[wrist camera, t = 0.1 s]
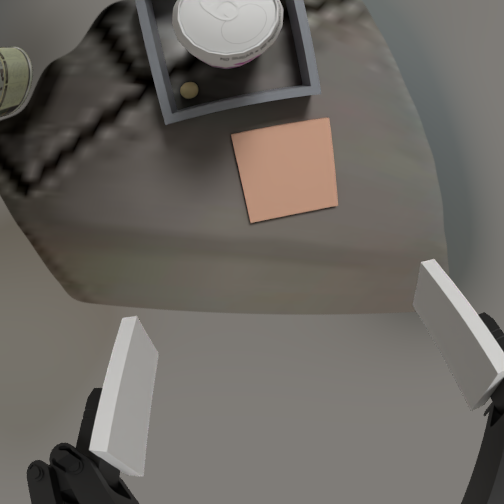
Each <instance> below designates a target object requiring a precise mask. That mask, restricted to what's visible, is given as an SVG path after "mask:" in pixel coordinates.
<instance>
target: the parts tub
mask: <svg viewBox="0 0 504 504" xmlns="http://www.w3.org/2000/svg"><path fill="white" fill-rule="evenodd" d="M135 2H136V7H137V12H138V16H139V21H140V25H141V30H142V34H143V38H144V43H145V47H146V51H147V55H148V60H149V64H150V68H151V72H152V76H153V80H154V84H155V88H156V92H157V95H158V99H159V103H160V107H161V111H162V114H163V118H164V122H165V125H167V124H171V123H175V122H178V121H182V120H186V119H189V118H193V117H197V116H201V115H205V114H209V113H214V112H218V111H222V110H227V109H232V108H236V107H241V106H246V105H251V104H257V103H262V102H268V101H274V100H280V99H286V98H293V97H300V96H308V95H316V94H321V88H320V82H319V76H318V70H317V65H316V59H315V54H314V48H313V43H312V38H311V33H310V28H309V24H308V19H307V14H306V10H305V6H304V1H303V0H285V2H286V6H287V10H288V15H289V19H290V24H291V28H292V33H293V38H294V43H295V48H296V53H297V58H298V63H299V68H300V74H301V79H302V85H298V86H291V87H284V88H277V89H271V90H265V91H259V92H254V93H248V94H243V95H238V96H233V97H229V98H224V99H220V100H215V101H211V102H207V103H203V104H198V105H195V106H191V107H187V108H183V109H179V110H177V106H176V103H175V99H174V95H173V91H172V87H171V83H170V79H169V75H168V71H167V66H166V62H165V58H164V54H163V50H162V46H161V41H160V37H159V33H158V28H157V24H156V19H155V15H154V11H153V6H152V1H151V0H135ZM180 93H181V95H182V96H183V97H184V98H187V99H191V98H193V97H195V96H196V95H197V94H198V86H197V85H196V84H195V83H193V82H187V83H185V84H183V85H182V87H181V89H180Z"/></svg>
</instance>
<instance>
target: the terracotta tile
mask: <svg viewBox="0 0 504 504" xmlns="http://www.w3.org/2000/svg"><path fill="white" fill-rule="evenodd" d="M231 137H232V141H233V146H234V150H235V155H236V159H237V163H238V168H239V172H240V177H241V181H242V186H243V190H244V195H245V199H246V204H247V208H248V213H249V217H250V222H251V223H253V222H258V221H263V220H268V219H272V218H277V217H282V216H287V215H292V214H297V213H302V212H307V211H312V210H317V209H322V208H328V207H333V206H338V198H337V186H336V175H335V165H334V155H333V146H332V137H331V129H330V122H329V118H328V117H327V118H319V119H312V120H305V121H298V122H292V123H286V124H280V125H274V126H269V127H263V128H258V129H253V130H248V131H243V132H238V133H234V134H231Z"/></svg>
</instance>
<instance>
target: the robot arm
mask: <svg viewBox="0 0 504 504" xmlns="http://www.w3.org/2000/svg"><path fill="white" fill-rule="evenodd" d="M413 307H414V309H415V310H416V312H417V313H418V315H419V317H420V318H421V320H422V322H423V323H424V325H425V327H426V329H427V330H428V332H429V334H430V335H431V337H432V339H433V340H434V342H435V344H436V346H437V348H438V349H439V351H440V353H441V355H442V356H443V358H444V360H445V362H446V364H447V366H448V367H449V369H450V371H451V373H452V375H453V377H454V379H455V381H456V383H457V384H458V386H459V388H460V390H461V392H462V394H463V396H464V398H465V400H466V402H467V404H468V407H469V409H470V411H473V410H475V409H477V408H479V407H480V406H482V405H484V404H485V403H486V402H487V401H488V399H489V398H490V397H491V399H492V401H493V402H492V403H491V405H490V406H489V407H488V408H487V409H486V411H485V413H484V416H486V414H487V413H488V412H489V416H488V421H487V425H486V429H485V433H484V437H483V441H482V444H481V448H480V451H479V455H478V458H477V461H476V464H475V467H474V471H473V473H472V476H471V479H470V482H469V485H468V487H467V490H466V493H465V495H464V498H463V500H462V503H461V504H504V333H503V332H502V330H501V329H500V327H499V326H498V325H497V323H496V322H495V320H494V319H493V318H491V317H490V316H489V315H487V314H486V313H481V314H479V315H478V314H477V313H476V311H475V310H474V309H473V308H472V306H471V305H470V303H469V302H468V301H467V300H466V298H465V297H464V296H463V294H462V293H461V292H460V290H459V289H458V288H457V287H456V285H455V284H454V283H453V282H452V280H451V279H450V278H449V277H448V275H447V274H446V273H445V272H444V270H443V269H442V268H441V267H440V266H439V264H438V263H437V262H436V261H435V260H434V259H432V260H428V261H424V262H421V265H420V271H419V276H418V281H417V287H416V292H415V296H414V301H413ZM158 355H159V353H158V352H157V350H156V349H155V347H154V345H153V343H152V342H151V340H150V338H149V336H148V335H147V333H146V331H145V329H144V328H143V326H142V324H141V322H140V321H139V319H138V317H137V316H133V317H126V318H122V321H121V325H120V328H119V332H118V335H117V338H116V341H115V345H114V348H113V351H112V355H111V359H110V362H109V366H108V369H107V373H106V377H105V381H104V385H103V388H94V389H93V391H92V392H91V394H90V395H89V397H88V399H87V403H86V407H85V411H84V415H83V420H82V423H81V427H80V432H79V436H78V440H77V445H76V448H75V447H73V446H72V445H70V444H68V443H60V444H58V445H56V446H55V447H54V449H53V450H52V452H51V454H50V465H48V464H46V463H45V462H43V461H41V460H36V461H34V462H32V463H31V464H30V465H29V467H28V470H27V481H28V487H29V492H30V498H31V502H32V504H139V503H138V501H137V500H136V498H135V497H134V496H133V495H132V493H131V492H130V490H129V489H128V487H127V486H126V484H125V483H124V482H123V480H122V479H121V478H120V477H119V475H120V471H121V472H123V473H124V474H126V475H132V476H144V465H145V455H146V445H147V436H148V427H149V419H150V411H151V403H152V396H153V387H154V382H155V375H156V368H157V362H158Z"/></svg>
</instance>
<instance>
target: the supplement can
mask: <svg viewBox="0 0 504 504" xmlns="http://www.w3.org/2000/svg"><path fill="white" fill-rule="evenodd" d="M172 26H173V28H174V31H175V34H176V36H177V39H178V41H179V42H180V43H181V44H182V45H183V46H184V47H185V48H186V49H187V50H188V52H189V53H191V54H192V55H194V56H195V57H196V58H198V59H199V60H201V61H202V62H204V63H206V64H208V65H210V66H212V67H216V68H222V69H230V68H237V67H240V66H242V65H244V64H246V63H248V62H250V61H252V60H253V59H255V58H256V57H258V56H259V55H261V54H262V53H263V52H264V51H265V50H267V49H268V48H269V47H270V46H271V45H272V44H273V43H274V42H275V41H276V39H277V37H278V34H279V32H280V30H281V28H282V26H283V7H282V5H281V2H280V0H177V1H176V3H175V5H174V7H173V19H172Z"/></svg>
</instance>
